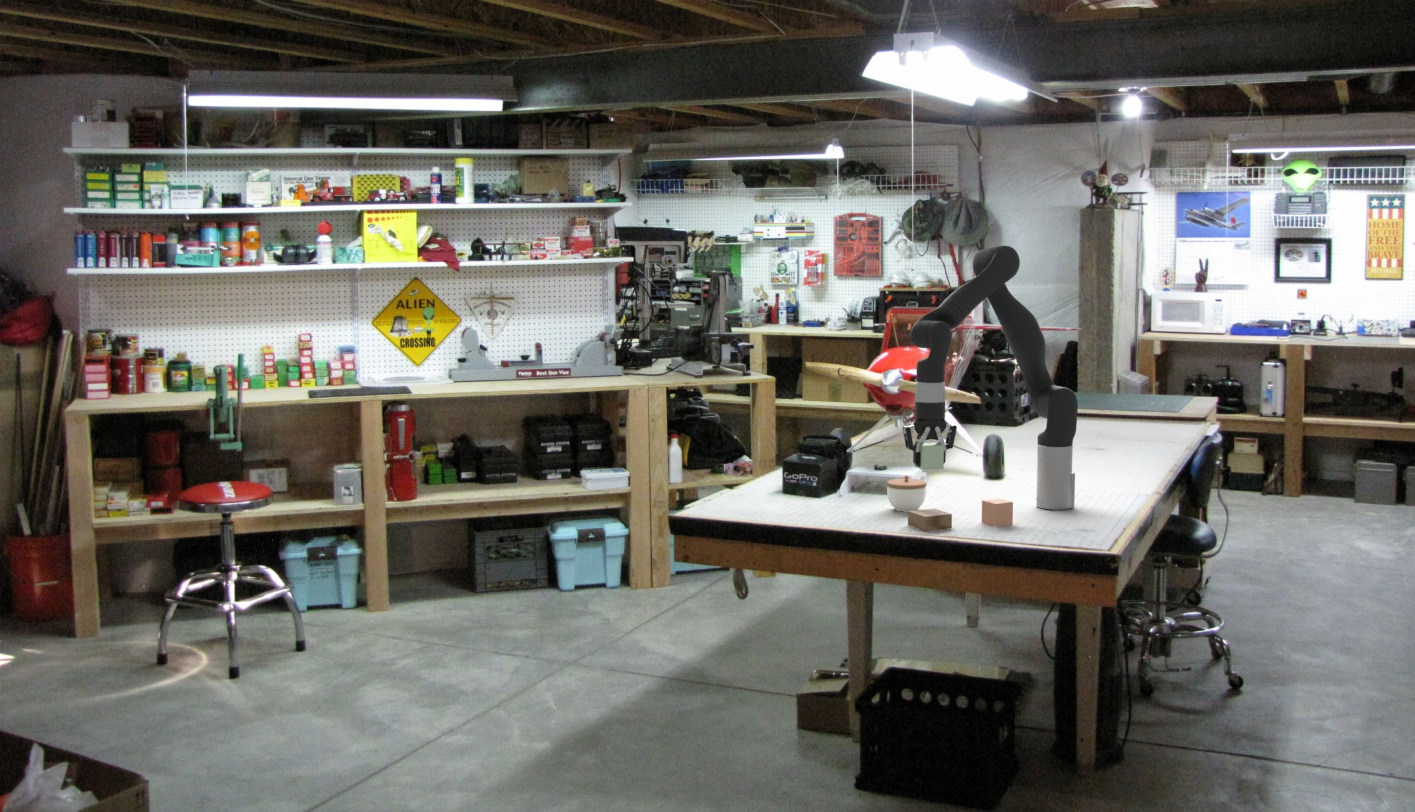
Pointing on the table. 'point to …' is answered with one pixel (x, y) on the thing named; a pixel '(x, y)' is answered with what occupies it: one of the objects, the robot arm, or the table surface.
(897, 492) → the lidded jar
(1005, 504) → the terracotta block
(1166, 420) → the table surface
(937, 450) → the sage block
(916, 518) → the walnut base
